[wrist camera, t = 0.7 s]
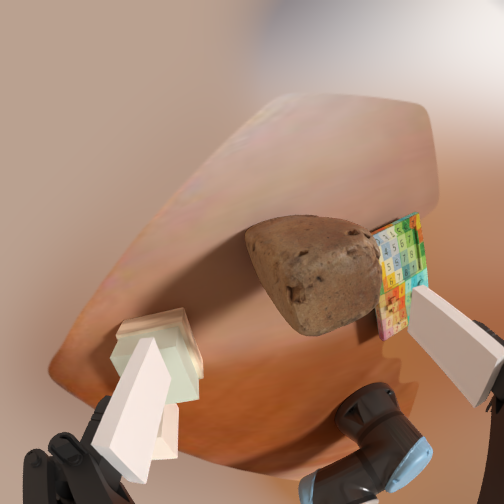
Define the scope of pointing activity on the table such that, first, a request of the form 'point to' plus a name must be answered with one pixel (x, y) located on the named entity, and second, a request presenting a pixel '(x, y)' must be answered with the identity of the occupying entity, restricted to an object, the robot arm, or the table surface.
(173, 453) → the cream block
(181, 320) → the tower base
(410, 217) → the puzzle game
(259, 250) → the block
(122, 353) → the tower top
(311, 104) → the table surface
